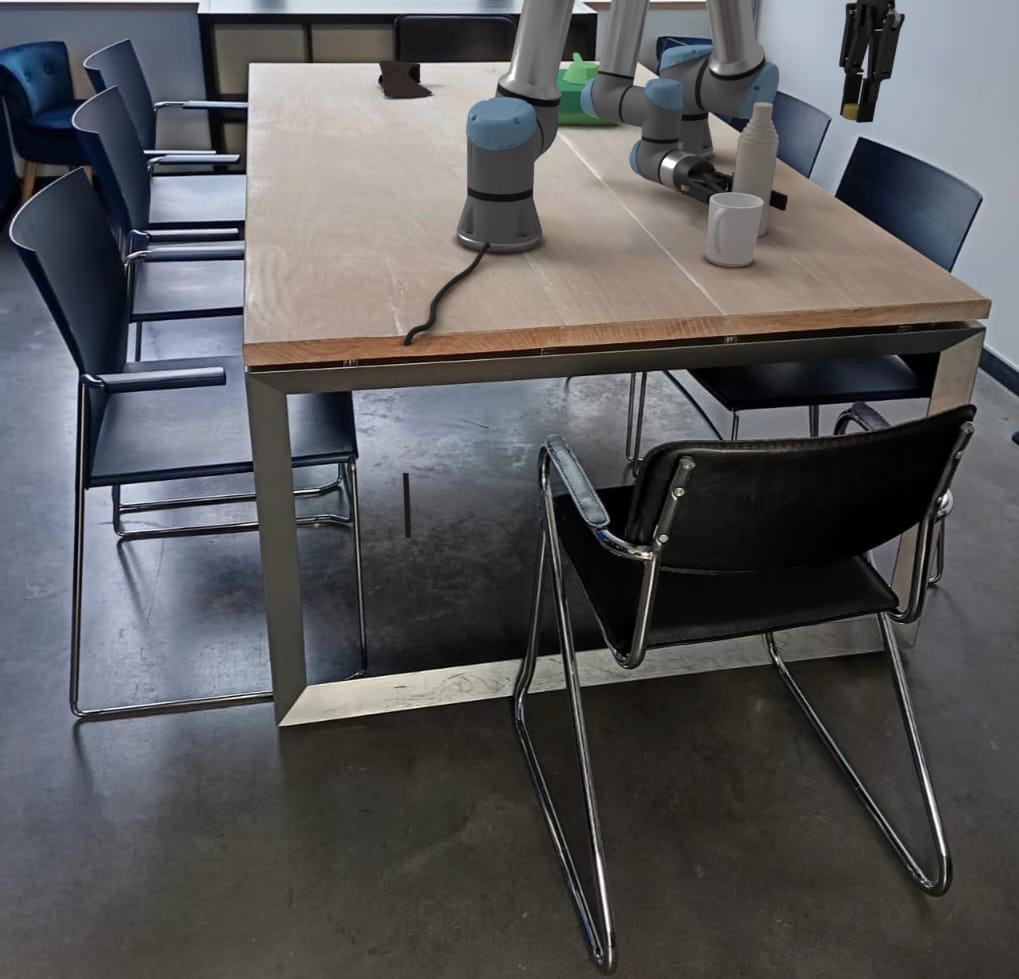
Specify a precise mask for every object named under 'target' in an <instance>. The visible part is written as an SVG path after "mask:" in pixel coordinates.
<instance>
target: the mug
mask: <svg viewBox="0 0 1019 979" xmlns="http://www.w3.org/2000/svg"><path fill="white" fill-rule="evenodd" d="M763 204H764V202H763V200H762V199H760V198H759V197H756V196H753V195H749V194H744V193H719V194H715V195H713V196H711V197H710V204H709V206H708V219H707V220H708V221H707V235H706V248H705V249H706V250H705V258H706V260H707V261H708V262H710V263H711V264H714V265H717V266H721V267H728V268H739V267H740V268H742V267H746V266H749V265H751V264H752V263H753V260H754V256H755V250H756V245H757V240H758V237H757V235H758V230H759V225H760V219H761V214H762V209H763Z"/></svg>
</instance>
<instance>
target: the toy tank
mask: <svg viewBox="0 0 1019 979" xmlns="http://www.w3.org/2000/svg"><path fill="white" fill-rule="evenodd" d="M572 59H573V61H574V62H572V63H570V64H569V66H568V68H559V72H558V76H557V80H556V84H557V86H558V88H559V89H560V91H561V93H562V96H561V100H560V105H559V109H558V117H559V125H590V126H591V125H592V126H593V125H595V126H596V125H599V126H602V125H603V126H605V125H606V126H608V125H610V126H612V125H613V126H618V125H619V122H614V121H609V120H601V119H599V118H596V117H592V116H589V115H587V114H586V113H585V112H584V111H583V109H582V106H581V92H582V89H584V88H585V84H586V82H587V81H588V80H590V79H592V78H597V74H598V70H599V64H598V63H596V62H590V61H583V58H582V57H581V54H580V53H579V52H573V53H572Z"/></svg>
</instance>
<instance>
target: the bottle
mask: <svg viewBox="0 0 1019 979" xmlns="http://www.w3.org/2000/svg"><path fill="white" fill-rule="evenodd" d="M753 105H754V106H753V116H752V119H749V122H747V123H746V126H745V127H743V130H741V132H740V134H739V136H738V140H737V148H736V156H735V162H734V170H733V172H734V178H733V186H732V193H744V194H749V195H753V196H756V197H759V198H760V199H762V200H763V202H764V204H763V209H762V214H761V219H760V225H759V230H758V235H757V238H759V237H761V236H764V235H765V234H766V232H767V225H768V219H769V211H770V207H771V206H770V199H771V192H772V190H773V185H774V179H775V178H774V177H775V171H776V164H777V159H778V158H777V157H778V150H779V145H780V144H779V143H780V140H779V134H778V133H777V130H776V129H775V128H776V127H775V125H774V124H773V123H774V121H773V120H772V114H773V108H774V104H773V103H772V104H770V103H765V102H758V103H754V104H753Z"/></svg>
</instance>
